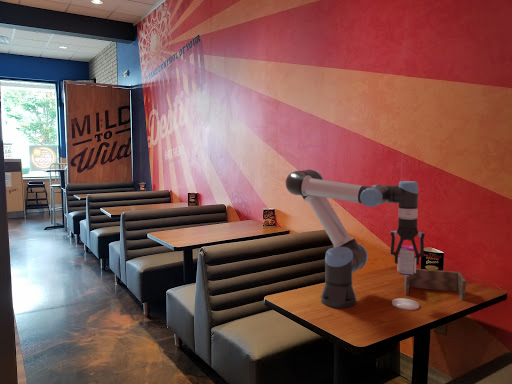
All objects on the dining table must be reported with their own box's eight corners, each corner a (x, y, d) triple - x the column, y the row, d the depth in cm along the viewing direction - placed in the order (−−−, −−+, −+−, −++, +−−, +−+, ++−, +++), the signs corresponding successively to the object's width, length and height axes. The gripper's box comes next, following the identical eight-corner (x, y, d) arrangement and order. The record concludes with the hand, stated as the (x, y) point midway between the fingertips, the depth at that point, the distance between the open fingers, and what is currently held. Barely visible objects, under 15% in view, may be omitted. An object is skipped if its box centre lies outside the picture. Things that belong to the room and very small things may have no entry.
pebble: (392, 308, 164) (392, 306, 164) (391, 298, 175) (391, 297, 174) (420, 311, 161) (420, 309, 161) (418, 301, 171) (418, 299, 171)
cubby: (405, 295, 179) (406, 276, 178) (404, 285, 191) (404, 268, 190) (465, 300, 171) (465, 280, 170) (459, 290, 184) (460, 272, 183)
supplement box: (413, 275, 165) (414, 251, 162) (398, 274, 167) (399, 250, 164) (413, 269, 170) (414, 245, 167) (399, 267, 172) (399, 244, 169)
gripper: (384, 218, 163) (383, 272, 166) (433, 220, 158) (431, 275, 160) (384, 215, 170) (383, 267, 173) (431, 217, 165) (429, 270, 167)
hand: (406, 271), depth 166 cm, fingers closed on supplement box, 6 cm apart
